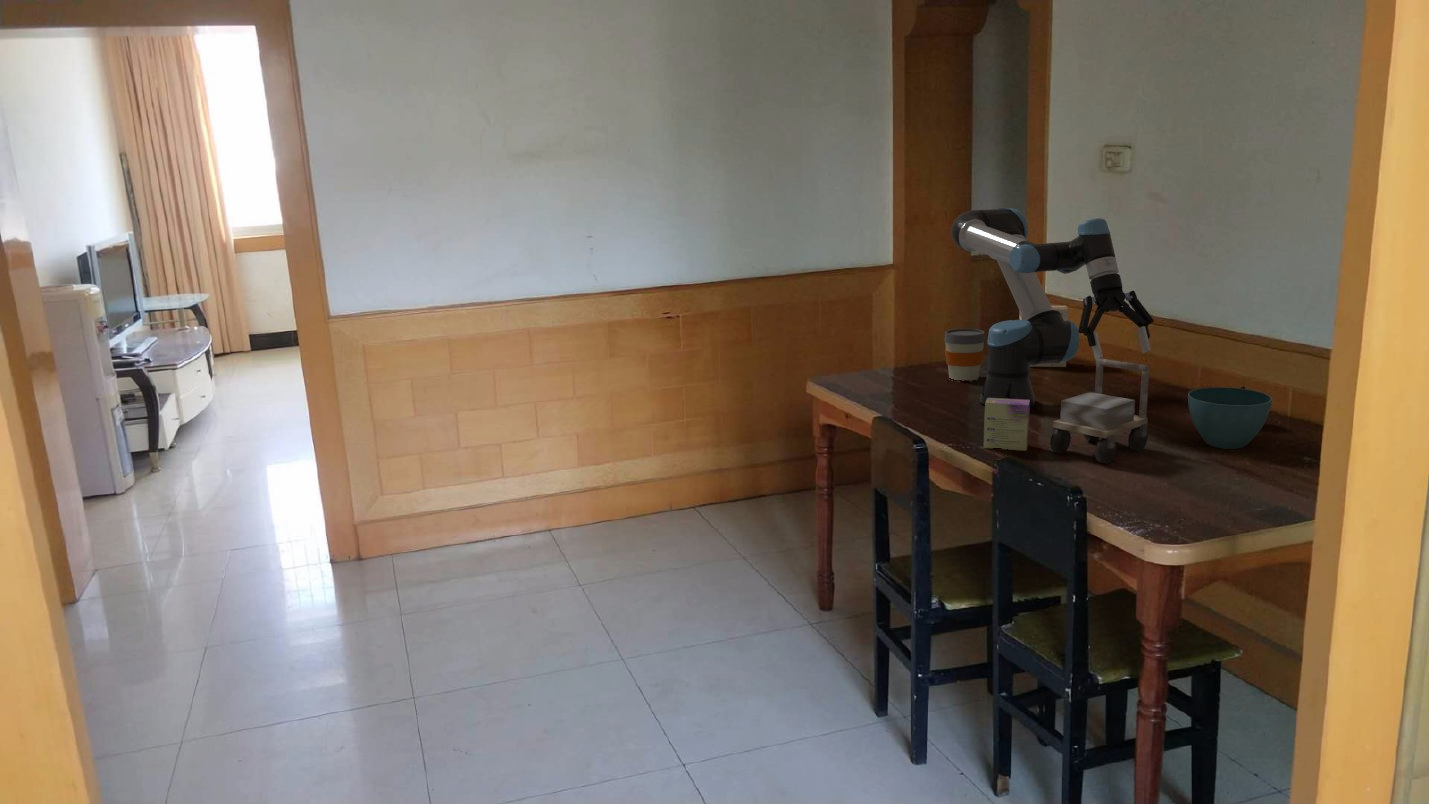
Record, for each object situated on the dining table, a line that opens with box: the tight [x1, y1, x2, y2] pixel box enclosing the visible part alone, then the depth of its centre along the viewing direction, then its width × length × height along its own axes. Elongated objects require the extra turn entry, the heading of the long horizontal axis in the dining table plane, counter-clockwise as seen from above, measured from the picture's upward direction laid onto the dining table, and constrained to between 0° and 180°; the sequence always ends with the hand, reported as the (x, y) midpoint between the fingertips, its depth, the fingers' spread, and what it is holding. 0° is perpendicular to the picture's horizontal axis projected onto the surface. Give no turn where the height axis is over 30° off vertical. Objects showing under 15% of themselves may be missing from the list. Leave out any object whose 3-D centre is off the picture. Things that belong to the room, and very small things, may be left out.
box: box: [983, 398, 1031, 452], centre depth 260 cm, size 10×6×12 cm, turn 71°
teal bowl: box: [1187, 386, 1273, 450], centre depth 255 cm, size 18×18×12 cm
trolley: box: [1049, 357, 1151, 465], centre depth 252 cm, size 15×20×21 cm
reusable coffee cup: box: [943, 328, 986, 381], centre depth 333 cm, size 13×12×15 cm
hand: (1123, 355), depth 272 cm, fingers open, 13 cm apart
